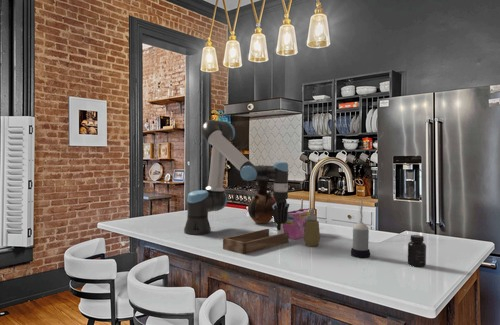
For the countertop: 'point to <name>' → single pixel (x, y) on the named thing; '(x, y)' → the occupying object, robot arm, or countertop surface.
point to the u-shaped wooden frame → (254, 241)
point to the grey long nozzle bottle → (360, 238)
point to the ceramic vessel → (261, 204)
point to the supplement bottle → (417, 251)
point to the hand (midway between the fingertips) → (280, 235)
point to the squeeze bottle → (312, 230)
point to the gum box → (296, 223)
